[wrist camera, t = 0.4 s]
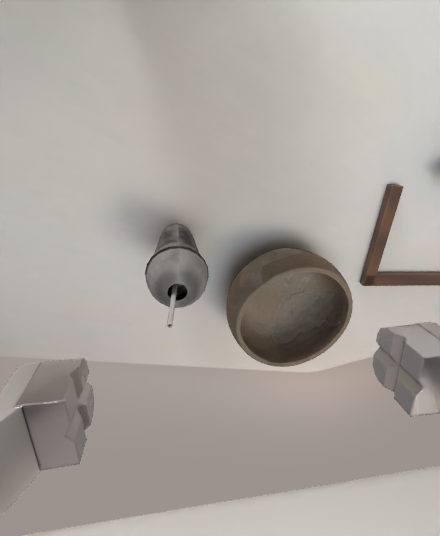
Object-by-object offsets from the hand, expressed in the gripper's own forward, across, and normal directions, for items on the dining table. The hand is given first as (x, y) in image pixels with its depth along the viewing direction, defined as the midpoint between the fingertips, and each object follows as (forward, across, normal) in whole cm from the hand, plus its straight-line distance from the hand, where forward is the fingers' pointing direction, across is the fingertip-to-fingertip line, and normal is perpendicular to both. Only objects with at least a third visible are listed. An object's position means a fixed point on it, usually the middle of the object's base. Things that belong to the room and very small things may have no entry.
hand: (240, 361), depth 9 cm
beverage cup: (+40, +1, +7) cm, 41 cm away
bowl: (+40, -14, +16) cm, 46 cm away
